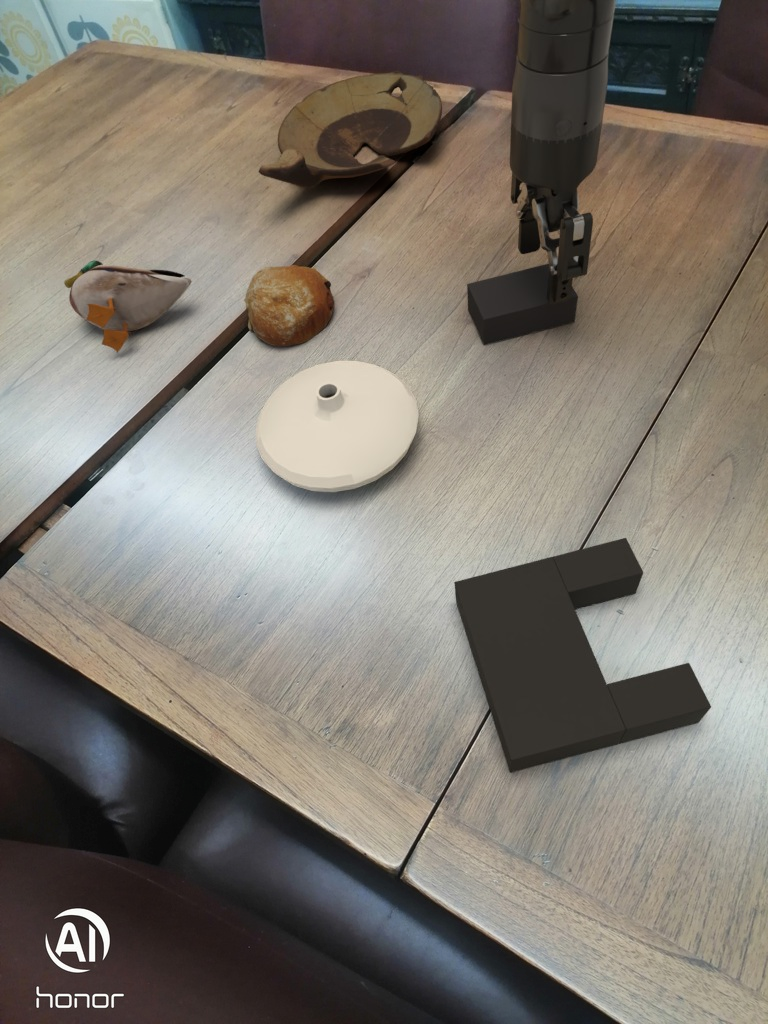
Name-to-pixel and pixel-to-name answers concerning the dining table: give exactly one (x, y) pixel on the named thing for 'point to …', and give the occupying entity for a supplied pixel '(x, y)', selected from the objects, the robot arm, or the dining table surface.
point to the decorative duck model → (123, 297)
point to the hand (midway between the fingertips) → (542, 274)
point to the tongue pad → (516, 305)
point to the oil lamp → (354, 127)
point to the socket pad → (564, 659)
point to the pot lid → (337, 426)
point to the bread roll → (288, 304)
